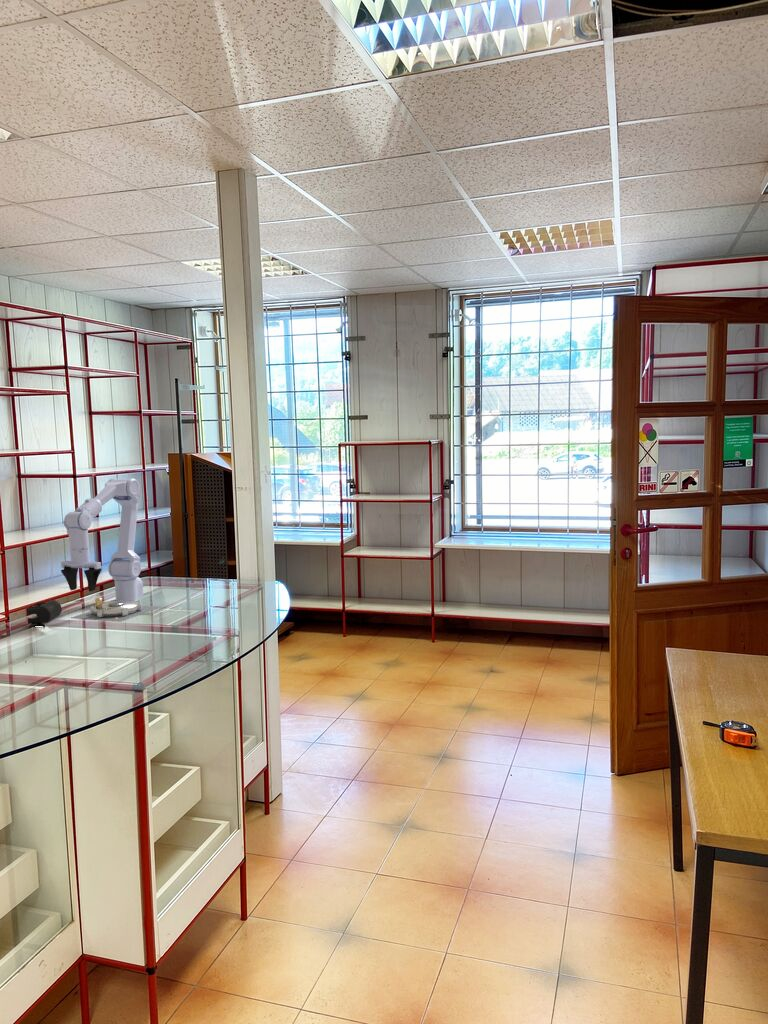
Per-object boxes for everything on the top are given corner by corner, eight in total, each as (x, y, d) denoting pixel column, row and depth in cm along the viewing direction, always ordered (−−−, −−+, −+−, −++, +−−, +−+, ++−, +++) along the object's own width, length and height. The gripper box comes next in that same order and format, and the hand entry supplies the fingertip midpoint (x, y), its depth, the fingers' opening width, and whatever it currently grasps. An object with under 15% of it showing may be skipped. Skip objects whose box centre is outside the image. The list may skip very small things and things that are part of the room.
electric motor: (51, 627, 226) (49, 606, 225) (27, 628, 225) (25, 607, 224) (62, 619, 236) (61, 599, 235) (40, 620, 235) (38, 600, 234)
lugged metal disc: (129, 603, 247) (128, 588, 246) (147, 611, 235) (146, 595, 235) (86, 611, 238) (85, 595, 237) (102, 619, 226) (101, 603, 225)
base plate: (113, 608, 249) (113, 603, 249) (161, 611, 243) (161, 606, 242) (70, 622, 231) (69, 617, 231) (121, 626, 224) (120, 621, 224)
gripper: (52, 550, 232) (55, 591, 233) (88, 551, 227) (91, 593, 228) (68, 546, 238) (72, 587, 240) (104, 547, 233) (107, 589, 235)
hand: (82, 590), depth 234 cm, fingers open, 7 cm apart
